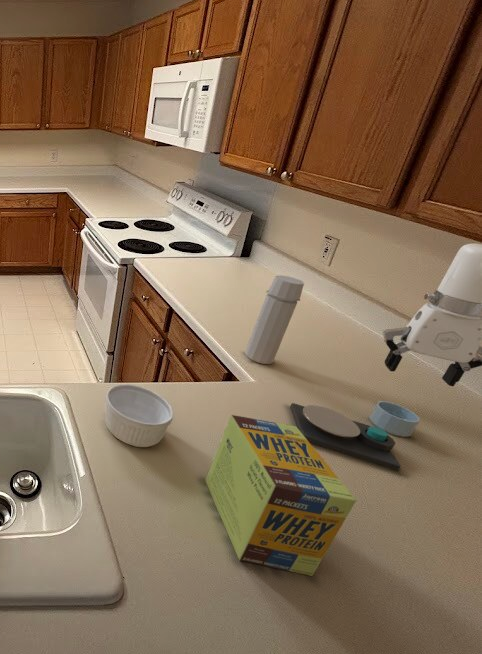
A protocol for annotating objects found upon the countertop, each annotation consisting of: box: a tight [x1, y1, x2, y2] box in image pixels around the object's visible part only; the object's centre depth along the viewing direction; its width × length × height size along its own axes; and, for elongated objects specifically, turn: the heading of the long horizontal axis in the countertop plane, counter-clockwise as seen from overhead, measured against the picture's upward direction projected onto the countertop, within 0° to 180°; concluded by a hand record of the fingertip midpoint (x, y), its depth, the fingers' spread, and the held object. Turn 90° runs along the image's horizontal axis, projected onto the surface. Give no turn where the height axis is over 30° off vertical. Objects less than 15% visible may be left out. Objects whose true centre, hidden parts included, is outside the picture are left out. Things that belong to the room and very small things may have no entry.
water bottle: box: [244, 274, 305, 365], centre depth 116 cm, size 9×8×25 cm
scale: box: [289, 402, 401, 472], centre depth 90 cm, size 16×13×3 cm
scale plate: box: [303, 404, 360, 438], centre depth 90 cm, size 10×10×1 cm
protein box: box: [204, 414, 357, 577], centre depth 65 cm, size 10×15×16 cm
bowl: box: [368, 400, 421, 438], centre depth 94 cm, size 7×7×5 cm
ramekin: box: [104, 383, 174, 448], centre depth 86 cm, size 13×13×7 cm
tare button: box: [367, 425, 389, 442], centre depth 87 cm, size 3×3×2 cm
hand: (417, 375), depth 90 cm, fingers open, 9 cm apart
